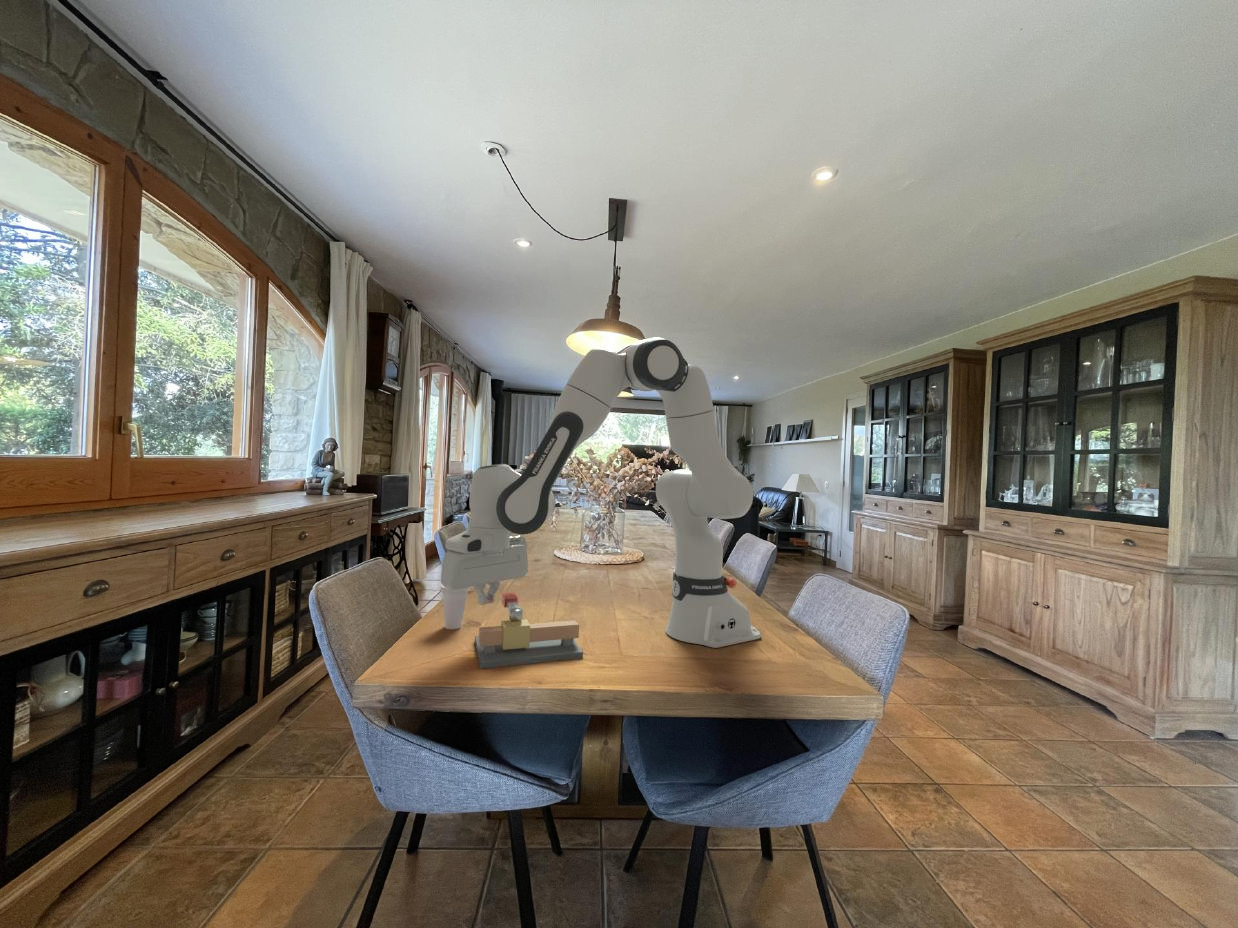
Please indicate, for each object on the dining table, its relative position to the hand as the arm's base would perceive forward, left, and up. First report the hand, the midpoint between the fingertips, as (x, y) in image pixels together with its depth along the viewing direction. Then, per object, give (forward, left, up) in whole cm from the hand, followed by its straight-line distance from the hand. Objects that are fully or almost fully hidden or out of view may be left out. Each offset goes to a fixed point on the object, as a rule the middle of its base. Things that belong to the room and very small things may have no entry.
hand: (486, 603), depth 106 cm
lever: (-5, +3, -1) cm, 6 cm away
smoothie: (+6, -12, -9) cm, 16 cm away
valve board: (-8, +6, -8) cm, 13 cm away
